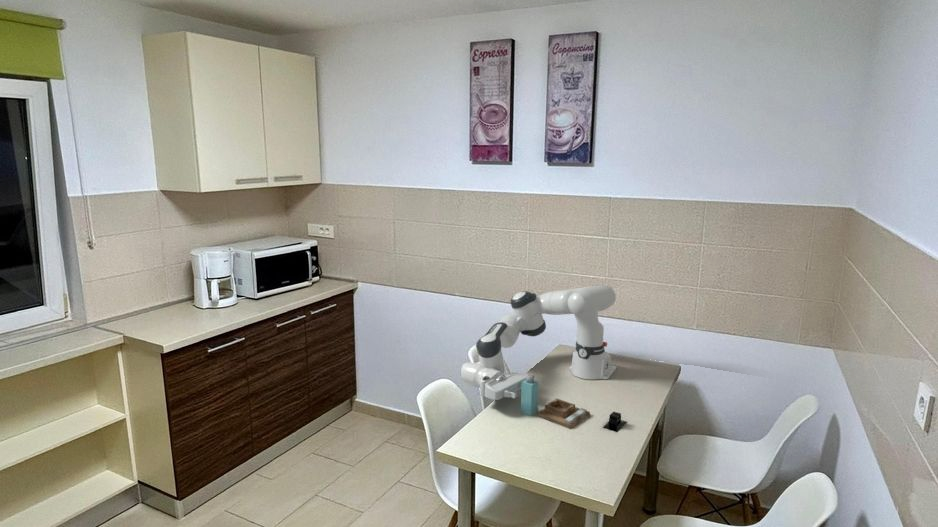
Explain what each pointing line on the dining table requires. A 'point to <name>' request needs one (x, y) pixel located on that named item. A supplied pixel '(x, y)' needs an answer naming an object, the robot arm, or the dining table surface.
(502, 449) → the dining table surface
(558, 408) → the jig
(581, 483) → the dining table surface
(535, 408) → the teal bottle
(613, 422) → the black block on base
